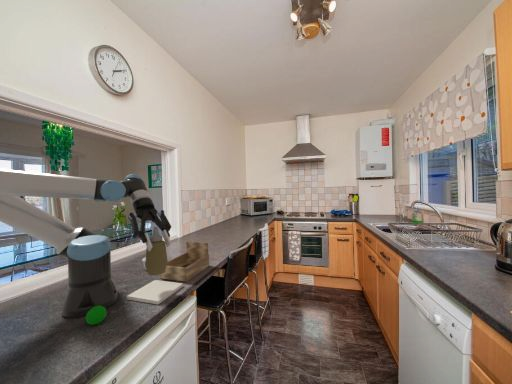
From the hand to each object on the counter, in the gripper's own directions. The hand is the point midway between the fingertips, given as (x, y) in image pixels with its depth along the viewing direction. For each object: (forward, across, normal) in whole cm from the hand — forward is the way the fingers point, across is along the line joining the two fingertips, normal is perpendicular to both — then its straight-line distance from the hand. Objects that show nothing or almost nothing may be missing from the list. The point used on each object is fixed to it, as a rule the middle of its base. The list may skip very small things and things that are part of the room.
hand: (160, 246), depth 78 cm
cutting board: (+11, 0, -16) cm, 19 cm away
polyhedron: (+14, +20, -12) cm, 27 cm away
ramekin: (-9, -11, -36) cm, 39 cm away
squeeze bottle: (+5, 0, -10) cm, 12 cm away
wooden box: (+4, -18, -22) cm, 29 cm away
